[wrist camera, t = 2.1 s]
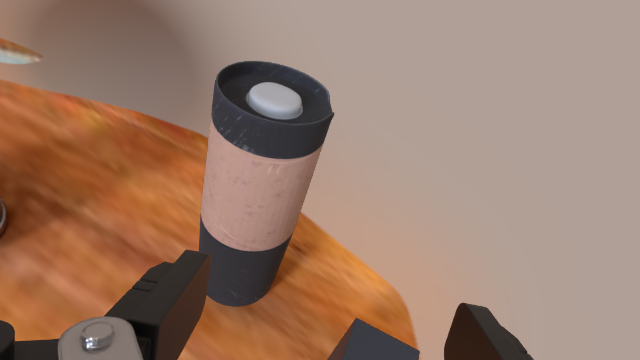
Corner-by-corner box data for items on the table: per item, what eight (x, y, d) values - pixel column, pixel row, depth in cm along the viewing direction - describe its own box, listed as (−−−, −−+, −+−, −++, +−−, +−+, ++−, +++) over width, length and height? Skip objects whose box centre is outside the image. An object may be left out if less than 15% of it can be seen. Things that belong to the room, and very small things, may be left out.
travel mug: (177, 269, 33) (185, 71, 21) (239, 229, 39) (276, 52, 26) (233, 327, 31) (280, 142, 18) (291, 276, 36) (359, 105, 24)
